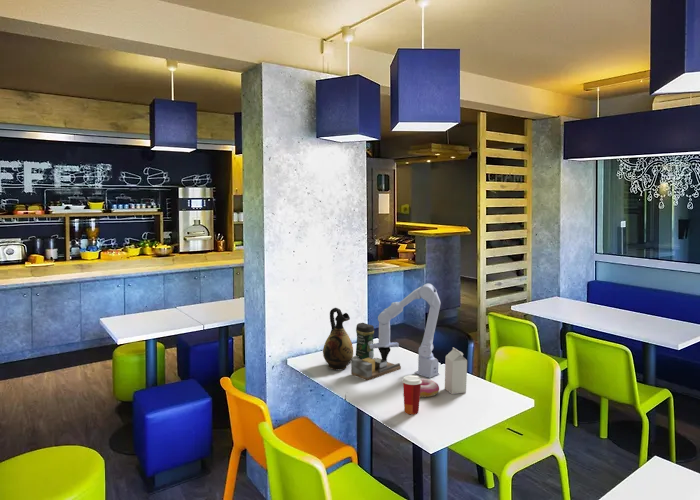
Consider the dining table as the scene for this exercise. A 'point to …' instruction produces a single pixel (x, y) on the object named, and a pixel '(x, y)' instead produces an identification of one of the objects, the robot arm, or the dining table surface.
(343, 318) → the ceramic jug
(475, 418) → the dining table surface
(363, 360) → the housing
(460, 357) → the milk carton
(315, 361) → the dining table surface
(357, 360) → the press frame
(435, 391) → the donut
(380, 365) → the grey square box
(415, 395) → the paper cup
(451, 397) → the dining table surface
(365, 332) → the coffee jar
